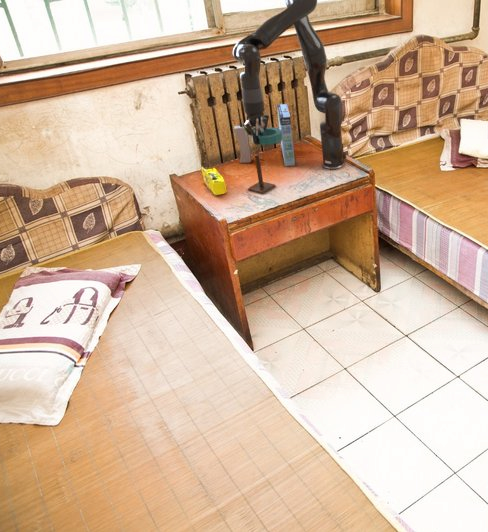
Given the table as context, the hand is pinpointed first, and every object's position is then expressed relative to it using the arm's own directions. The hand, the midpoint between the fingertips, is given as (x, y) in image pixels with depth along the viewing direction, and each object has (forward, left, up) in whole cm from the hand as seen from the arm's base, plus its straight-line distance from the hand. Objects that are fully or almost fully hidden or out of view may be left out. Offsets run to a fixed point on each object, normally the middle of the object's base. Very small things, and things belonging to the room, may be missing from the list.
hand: (259, 143), depth 216 cm
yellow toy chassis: (+7, -22, -22) cm, 32 cm away
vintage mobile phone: (-22, -30, -22) cm, 44 cm away
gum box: (-34, -14, -22) cm, 43 cm away
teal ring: (-5, 0, 0) cm, 5 cm away
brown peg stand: (-2, -4, -22) cm, 22 cm away
